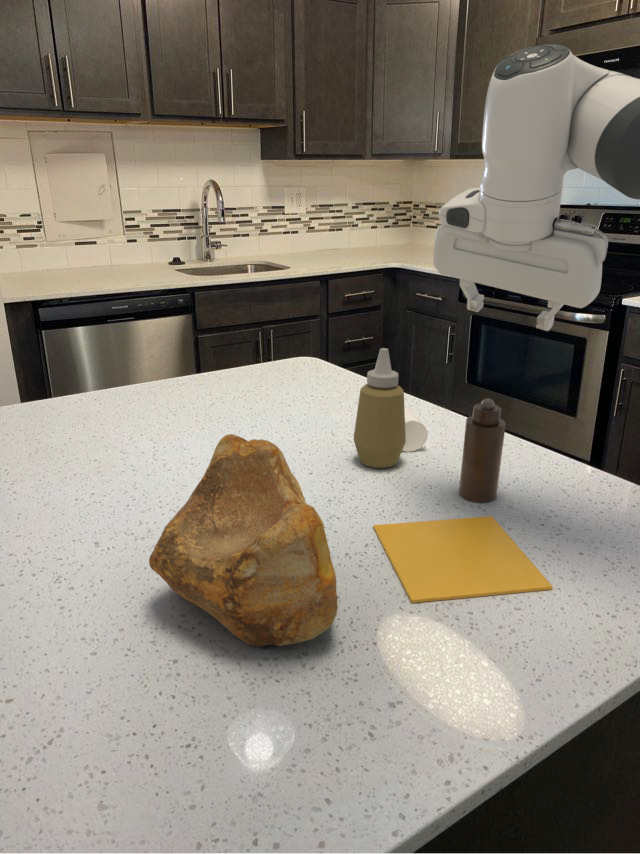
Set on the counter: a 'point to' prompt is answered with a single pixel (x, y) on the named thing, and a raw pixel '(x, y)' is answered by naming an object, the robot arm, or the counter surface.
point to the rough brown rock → (251, 548)
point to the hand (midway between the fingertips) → (508, 318)
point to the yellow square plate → (457, 559)
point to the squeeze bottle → (380, 416)
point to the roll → (414, 431)
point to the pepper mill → (482, 453)
